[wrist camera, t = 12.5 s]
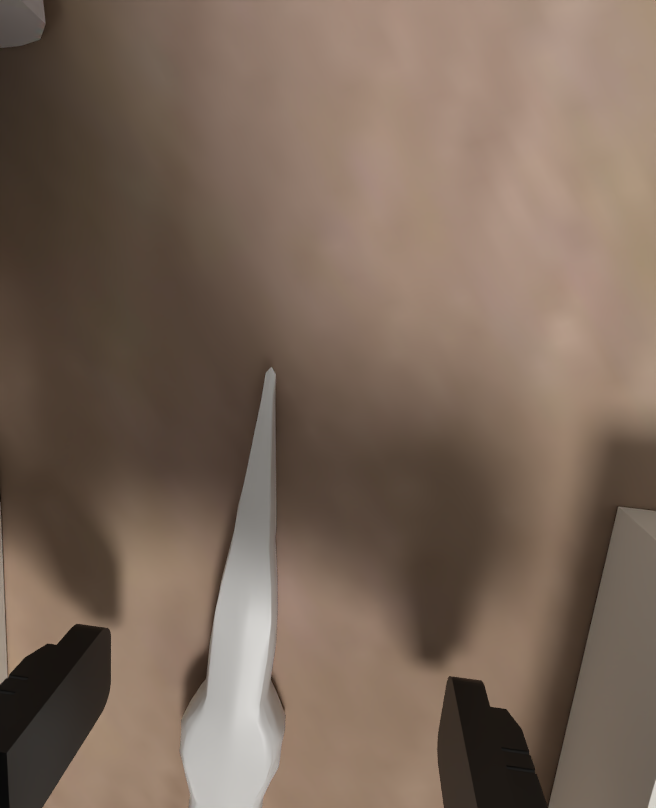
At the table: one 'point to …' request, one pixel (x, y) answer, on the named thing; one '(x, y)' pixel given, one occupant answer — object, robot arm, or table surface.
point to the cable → (21, 22)
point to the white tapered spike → (241, 649)
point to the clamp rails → (596, 680)
